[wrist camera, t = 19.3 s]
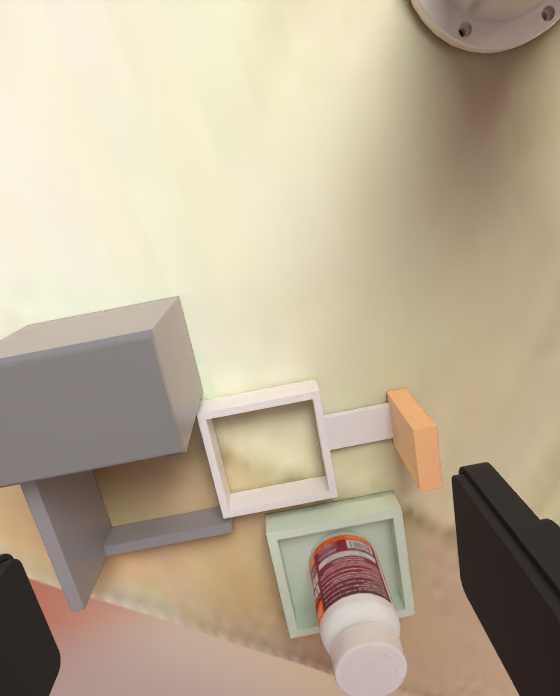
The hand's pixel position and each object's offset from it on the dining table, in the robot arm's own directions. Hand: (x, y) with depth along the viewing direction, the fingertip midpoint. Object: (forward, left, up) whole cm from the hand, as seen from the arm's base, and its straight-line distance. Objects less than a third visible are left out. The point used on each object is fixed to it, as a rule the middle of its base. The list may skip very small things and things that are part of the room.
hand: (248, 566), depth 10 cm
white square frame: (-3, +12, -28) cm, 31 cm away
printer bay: (+11, +8, -28) cm, 32 cm away
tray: (-3, +25, -28) cm, 38 cm away
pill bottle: (-3, +25, -28) cm, 37 cm away
